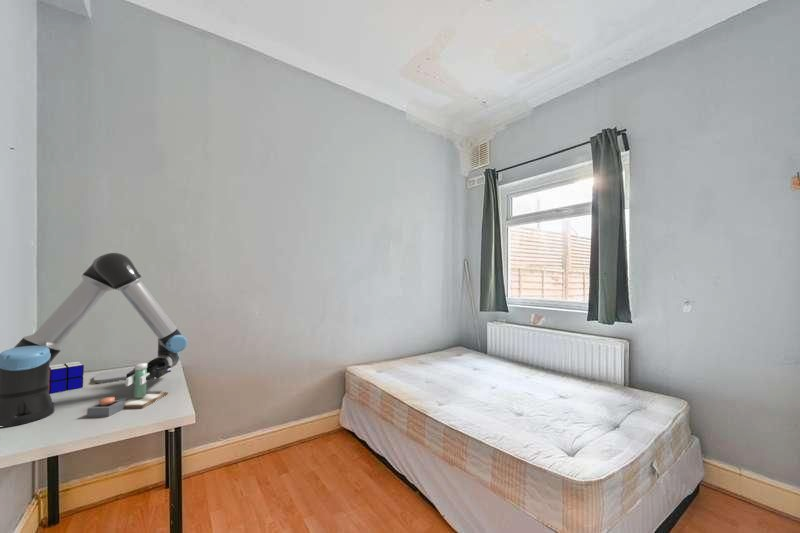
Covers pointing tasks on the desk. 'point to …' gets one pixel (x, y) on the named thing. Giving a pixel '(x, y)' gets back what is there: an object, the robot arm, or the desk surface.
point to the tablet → (112, 376)
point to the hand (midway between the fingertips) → (134, 381)
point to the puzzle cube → (65, 377)
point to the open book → (144, 399)
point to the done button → (107, 401)
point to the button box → (105, 409)
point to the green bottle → (139, 372)
